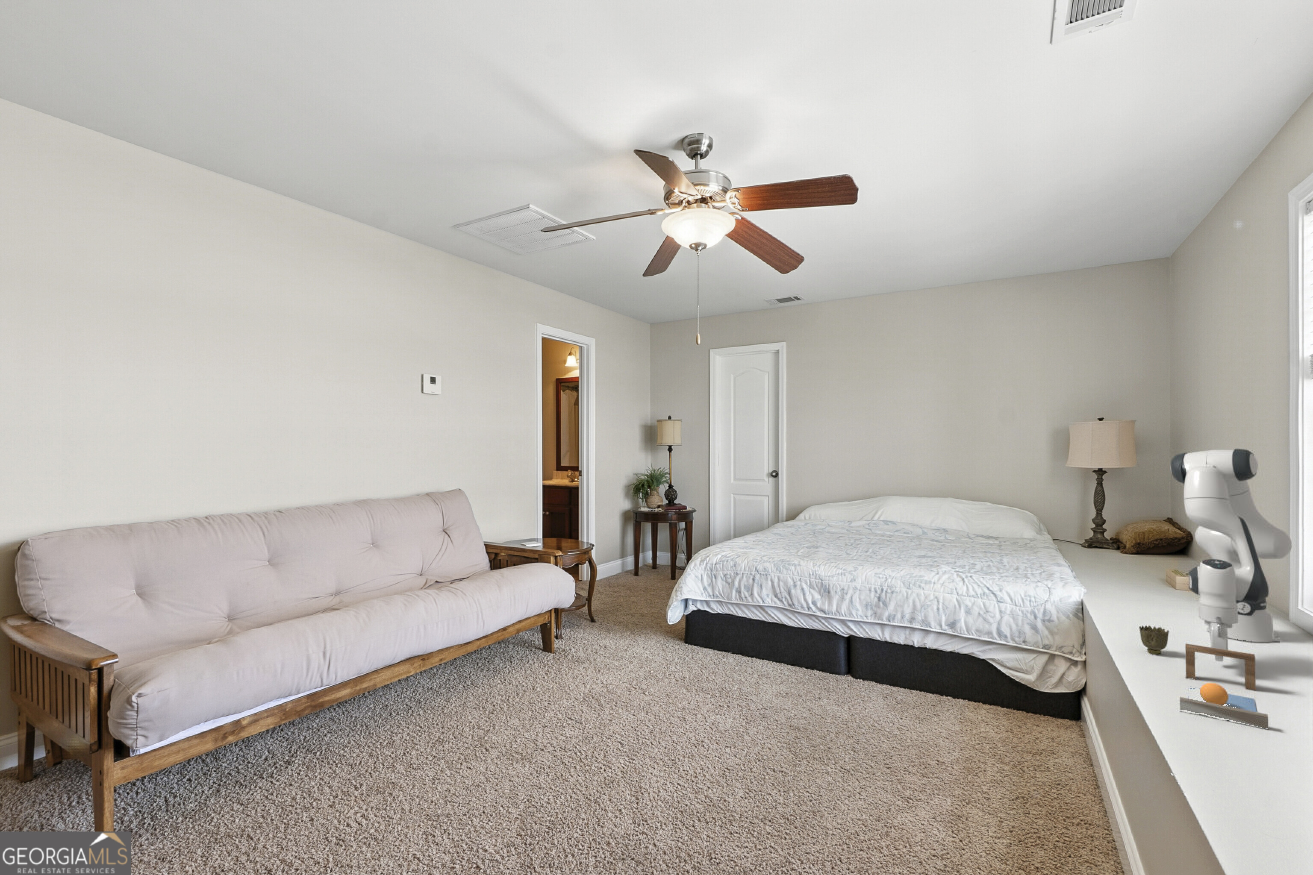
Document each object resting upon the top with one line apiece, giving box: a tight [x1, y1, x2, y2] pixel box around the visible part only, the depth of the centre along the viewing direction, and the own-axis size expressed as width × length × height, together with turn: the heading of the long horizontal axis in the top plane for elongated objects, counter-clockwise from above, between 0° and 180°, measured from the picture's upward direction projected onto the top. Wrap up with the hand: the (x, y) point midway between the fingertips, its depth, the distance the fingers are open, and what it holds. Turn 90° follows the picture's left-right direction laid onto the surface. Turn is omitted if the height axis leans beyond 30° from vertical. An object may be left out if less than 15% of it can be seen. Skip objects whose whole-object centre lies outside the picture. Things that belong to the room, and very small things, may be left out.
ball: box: [1200, 682, 1229, 705], centre depth 161 cm, size 6×6×6 cm
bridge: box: [1184, 643, 1257, 692], centre depth 176 cm, size 3×14×9 cm, turn 49°
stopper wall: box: [1179, 696, 1269, 729], centre depth 153 cm, size 2×16×3 cm, turn 49°
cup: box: [1138, 625, 1170, 656], centre depth 200 cm, size 8×7×8 cm
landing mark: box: [1190, 687, 1257, 712], centre depth 164 cm, size 13×13×1 cm
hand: (1219, 659), depth 188 cm, fingers closed
